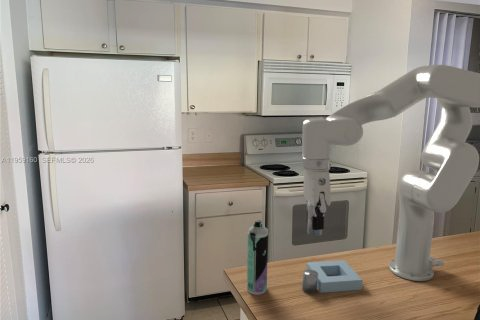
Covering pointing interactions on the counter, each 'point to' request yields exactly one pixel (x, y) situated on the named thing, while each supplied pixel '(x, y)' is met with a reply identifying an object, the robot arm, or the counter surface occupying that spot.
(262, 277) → the spray can
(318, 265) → the collar block
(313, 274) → the short pin
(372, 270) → the counter surface
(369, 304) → the counter surface
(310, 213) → the long pin
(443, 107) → the robot arm
